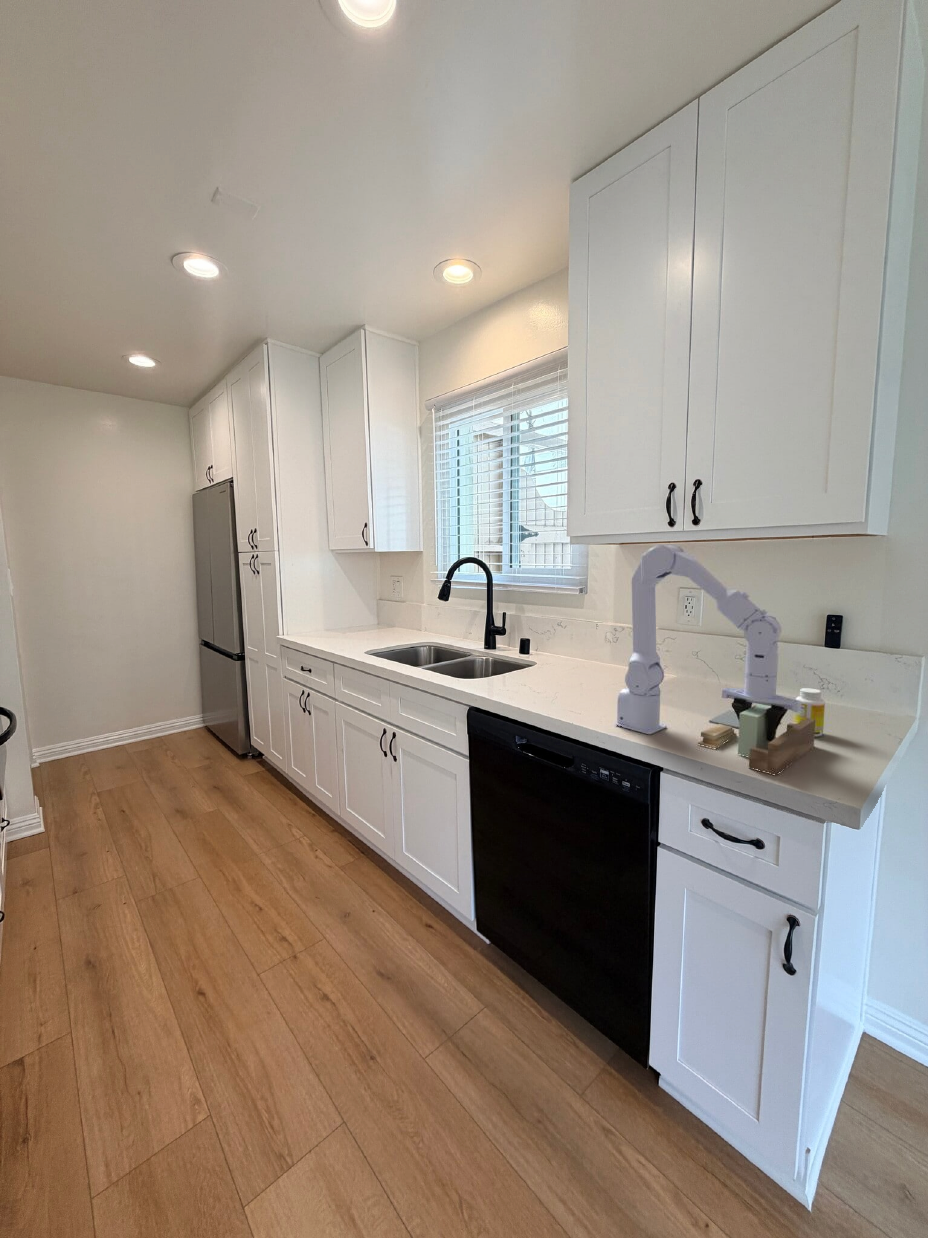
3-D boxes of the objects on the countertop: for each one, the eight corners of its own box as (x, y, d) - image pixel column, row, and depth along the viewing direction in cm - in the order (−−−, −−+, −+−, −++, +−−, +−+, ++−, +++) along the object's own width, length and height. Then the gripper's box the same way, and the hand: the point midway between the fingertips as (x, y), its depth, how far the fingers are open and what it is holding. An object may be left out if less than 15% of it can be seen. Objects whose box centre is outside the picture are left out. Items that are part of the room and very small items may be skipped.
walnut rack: (748, 768, 99) (750, 738, 98) (788, 740, 113) (790, 714, 113) (776, 776, 96) (777, 745, 95) (813, 746, 110) (815, 719, 109)
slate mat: (708, 722, 127) (709, 720, 126) (729, 711, 134) (729, 710, 134) (761, 734, 117) (761, 732, 117) (780, 722, 125) (780, 720, 125)
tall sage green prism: (737, 755, 106) (739, 713, 105) (758, 742, 113) (760, 702, 112) (755, 760, 103) (757, 717, 102) (775, 746, 110) (777, 705, 109)
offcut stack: (697, 747, 112) (697, 733, 111) (719, 733, 120) (720, 721, 119) (715, 751, 109) (716, 738, 109) (737, 737, 117) (737, 725, 116)
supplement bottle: (824, 732, 117) (827, 689, 116) (820, 739, 113) (823, 694, 112) (796, 727, 121) (798, 685, 120) (791, 734, 117) (793, 690, 116)
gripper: (807, 676, 103) (803, 741, 105) (732, 666, 114) (730, 724, 116) (795, 682, 99) (791, 750, 100) (718, 671, 110) (716, 732, 111)
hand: (757, 737), depth 108 cm, fingers open, 4 cm apart
